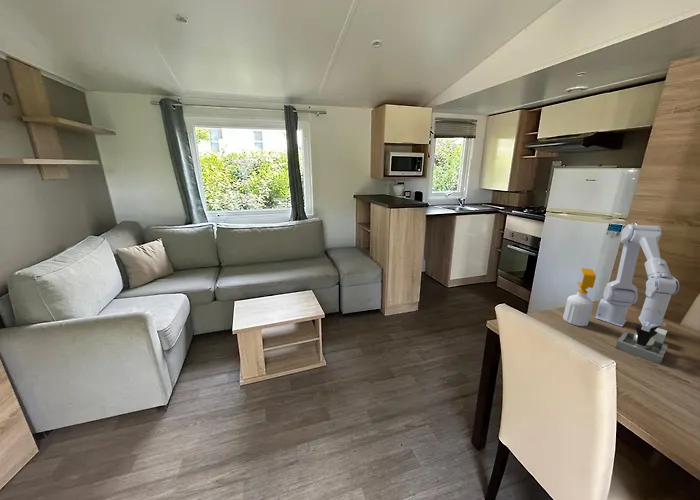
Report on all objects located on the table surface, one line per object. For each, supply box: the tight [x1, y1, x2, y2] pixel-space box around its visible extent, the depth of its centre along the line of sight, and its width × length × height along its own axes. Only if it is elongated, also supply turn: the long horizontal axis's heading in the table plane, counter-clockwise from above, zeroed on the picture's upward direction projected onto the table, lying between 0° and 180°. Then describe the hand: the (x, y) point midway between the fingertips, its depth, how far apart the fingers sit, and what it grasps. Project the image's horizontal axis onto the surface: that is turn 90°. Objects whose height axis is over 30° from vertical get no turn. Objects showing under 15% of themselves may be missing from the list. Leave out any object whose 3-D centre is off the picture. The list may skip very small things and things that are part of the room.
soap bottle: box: [562, 267, 597, 327], centre depth 125 cm, size 9×9×25 cm
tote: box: [615, 330, 669, 365], centre depth 109 cm, size 12×12×3 cm
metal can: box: [631, 331, 655, 351], centre depth 108 cm, size 5×5×5 cm
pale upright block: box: [640, 324, 668, 343], centre depth 115 cm, size 7×5×5 cm
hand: (643, 341), depth 108 cm, fingers open, 7 cm apart
